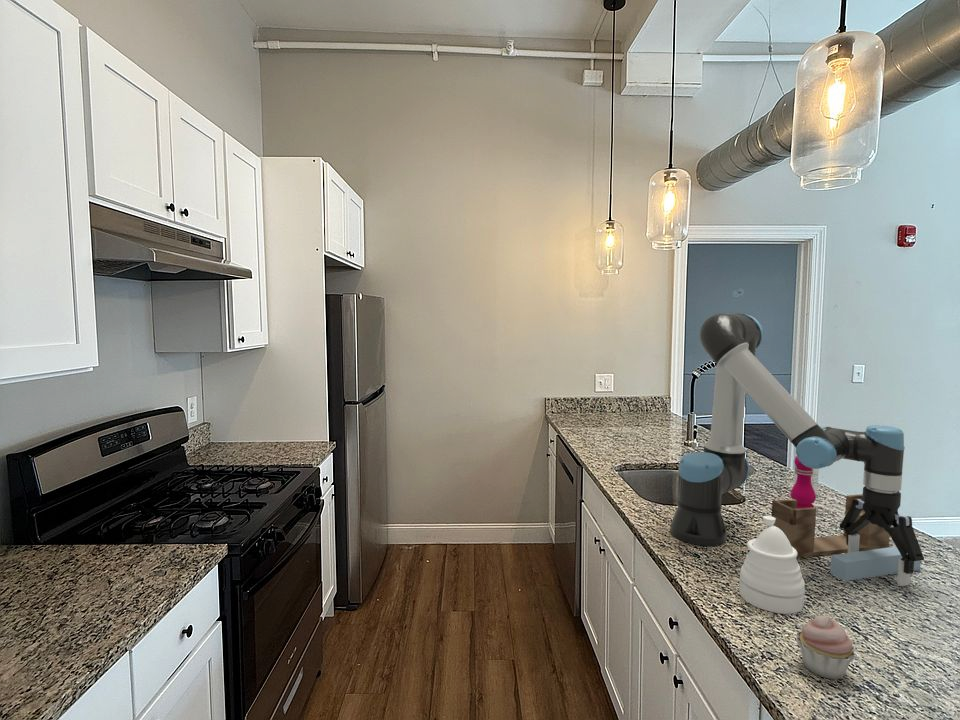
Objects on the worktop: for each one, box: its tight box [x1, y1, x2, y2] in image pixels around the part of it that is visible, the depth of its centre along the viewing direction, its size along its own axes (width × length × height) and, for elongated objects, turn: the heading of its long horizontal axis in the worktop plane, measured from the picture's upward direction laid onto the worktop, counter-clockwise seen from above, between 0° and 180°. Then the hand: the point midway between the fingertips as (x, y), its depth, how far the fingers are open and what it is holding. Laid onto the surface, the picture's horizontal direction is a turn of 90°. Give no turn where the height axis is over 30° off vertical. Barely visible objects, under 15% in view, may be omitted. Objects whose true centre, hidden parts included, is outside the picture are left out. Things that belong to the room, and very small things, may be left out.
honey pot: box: [738, 515, 806, 615], centre depth 119 cm, size 13×13×18 cm
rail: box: [829, 546, 922, 582], centre depth 132 cm, size 24×4×5 cm, turn 104°
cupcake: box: [795, 615, 857, 680], centre depth 95 cm, size 9×9×10 cm
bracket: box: [771, 493, 891, 559], centre depth 145 cm, size 31×8×13 cm, turn 101°
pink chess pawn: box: [792, 454, 820, 497], centre depth 188 cm, size 6×6×14 cm
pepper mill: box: [790, 456, 817, 509], centre depth 174 cm, size 7×7×20 cm
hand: (876, 571), depth 131 cm, fingers open, 13 cm apart
